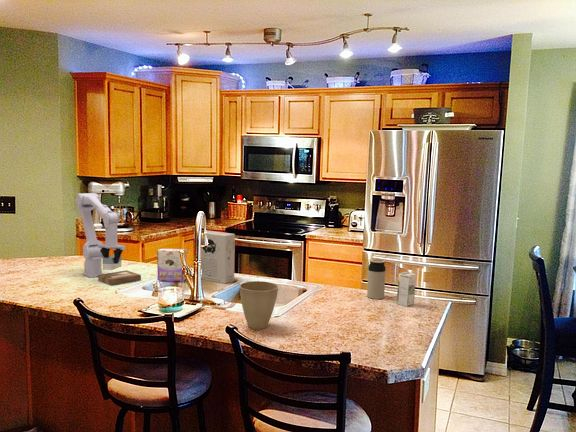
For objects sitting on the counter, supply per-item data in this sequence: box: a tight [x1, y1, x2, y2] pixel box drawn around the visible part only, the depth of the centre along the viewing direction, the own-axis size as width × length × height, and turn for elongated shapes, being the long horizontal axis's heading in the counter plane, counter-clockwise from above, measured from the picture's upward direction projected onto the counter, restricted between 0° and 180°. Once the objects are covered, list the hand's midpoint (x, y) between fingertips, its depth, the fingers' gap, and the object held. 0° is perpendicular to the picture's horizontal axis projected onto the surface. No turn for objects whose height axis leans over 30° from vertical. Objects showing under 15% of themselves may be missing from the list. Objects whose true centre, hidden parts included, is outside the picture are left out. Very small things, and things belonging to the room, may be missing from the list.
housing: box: [102, 254, 122, 271], centre depth 259 cm, size 9×5×6 cm, turn 167°
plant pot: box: [239, 280, 279, 330], centre depth 196 cm, size 15×15×16 cm
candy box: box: [156, 248, 187, 283], centre depth 263 cm, size 14×6×16 cm, turn 84°
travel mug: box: [366, 258, 387, 300], centre depth 242 cm, size 8×8×18 cm
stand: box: [97, 270, 142, 286], centre depth 261 cm, size 14×16×3 cm
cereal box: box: [193, 229, 236, 284], centre depth 268 cm, size 22×8×25 cm, turn 58°
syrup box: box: [396, 271, 417, 307], centre depth 231 cm, size 6×6×14 cm
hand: (111, 262), depth 258 cm, fingers closed on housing, 5 cm apart
